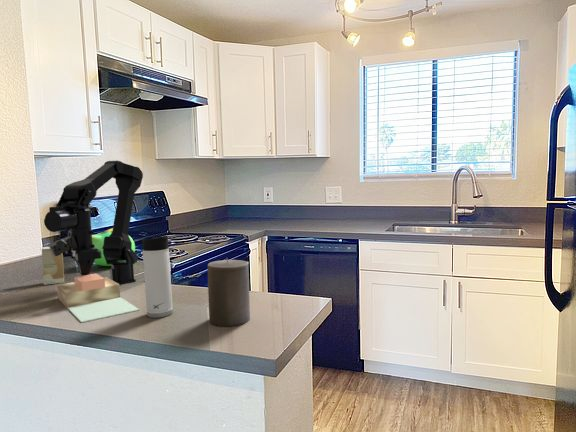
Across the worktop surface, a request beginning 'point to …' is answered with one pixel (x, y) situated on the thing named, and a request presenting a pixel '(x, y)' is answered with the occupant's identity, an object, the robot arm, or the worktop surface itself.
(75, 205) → the robot arm
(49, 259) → the skincare box
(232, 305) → the pillar candle
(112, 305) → the mat
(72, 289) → the tan block
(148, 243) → the travel mug
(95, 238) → the toy bird
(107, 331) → the worktop surface
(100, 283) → the salmon pink block
